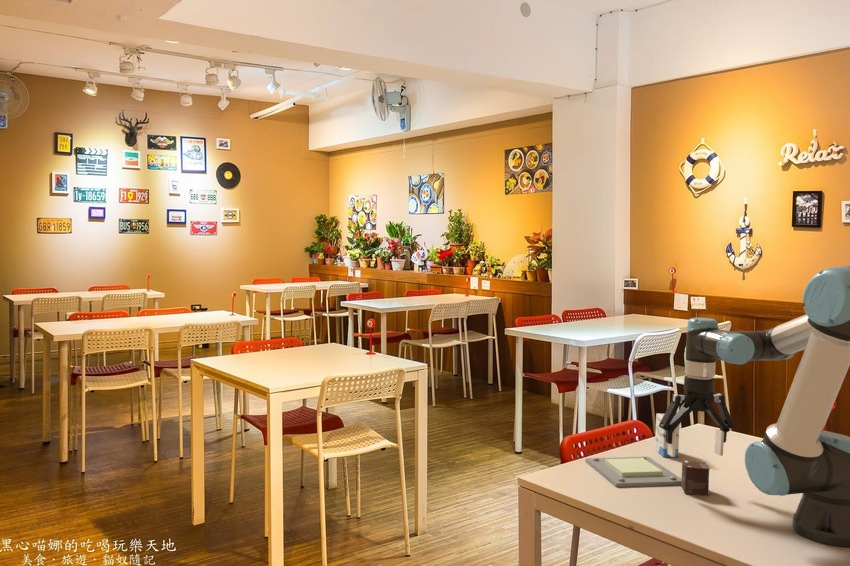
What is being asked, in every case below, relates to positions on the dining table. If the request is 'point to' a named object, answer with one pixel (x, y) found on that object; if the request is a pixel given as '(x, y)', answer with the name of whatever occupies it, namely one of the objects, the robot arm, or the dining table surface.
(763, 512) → the dining table surface
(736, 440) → the dining table surface
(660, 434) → the ink box
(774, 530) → the dining table surface
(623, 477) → the board
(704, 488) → the box
